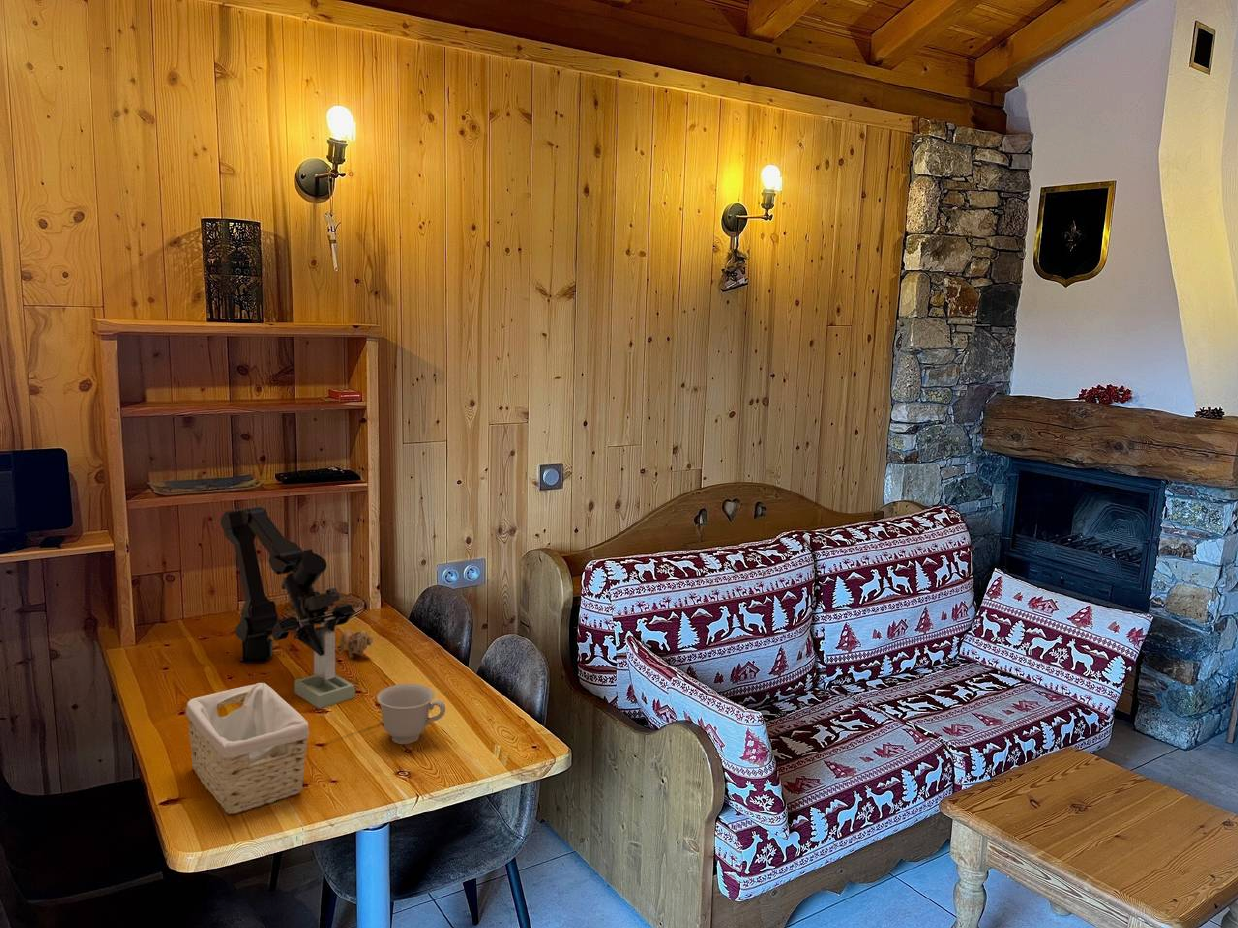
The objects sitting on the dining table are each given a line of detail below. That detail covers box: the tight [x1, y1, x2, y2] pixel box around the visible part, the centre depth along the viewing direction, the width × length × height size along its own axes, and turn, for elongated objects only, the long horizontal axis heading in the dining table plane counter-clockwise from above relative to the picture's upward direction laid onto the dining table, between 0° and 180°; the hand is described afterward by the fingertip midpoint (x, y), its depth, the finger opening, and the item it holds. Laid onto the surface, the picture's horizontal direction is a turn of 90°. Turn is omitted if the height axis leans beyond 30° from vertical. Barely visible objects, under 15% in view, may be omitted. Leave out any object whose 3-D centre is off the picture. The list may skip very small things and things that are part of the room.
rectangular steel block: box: [313, 626, 336, 680], centre depth 210 cm, size 5×2×11 cm, turn 48°
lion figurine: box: [337, 629, 374, 659], centre depth 237 cm, size 15×5×9 cm, turn 46°
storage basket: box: [185, 682, 310, 815], centre depth 176 cm, size 24×16×15 cm
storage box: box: [294, 673, 355, 710], centre depth 212 cm, size 11×9×4 cm
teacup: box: [376, 683, 446, 745], centre depth 196 cm, size 12×15×10 cm
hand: (327, 653), depth 209 cm, fingers closed on rectangular steel block, 2 cm apart
